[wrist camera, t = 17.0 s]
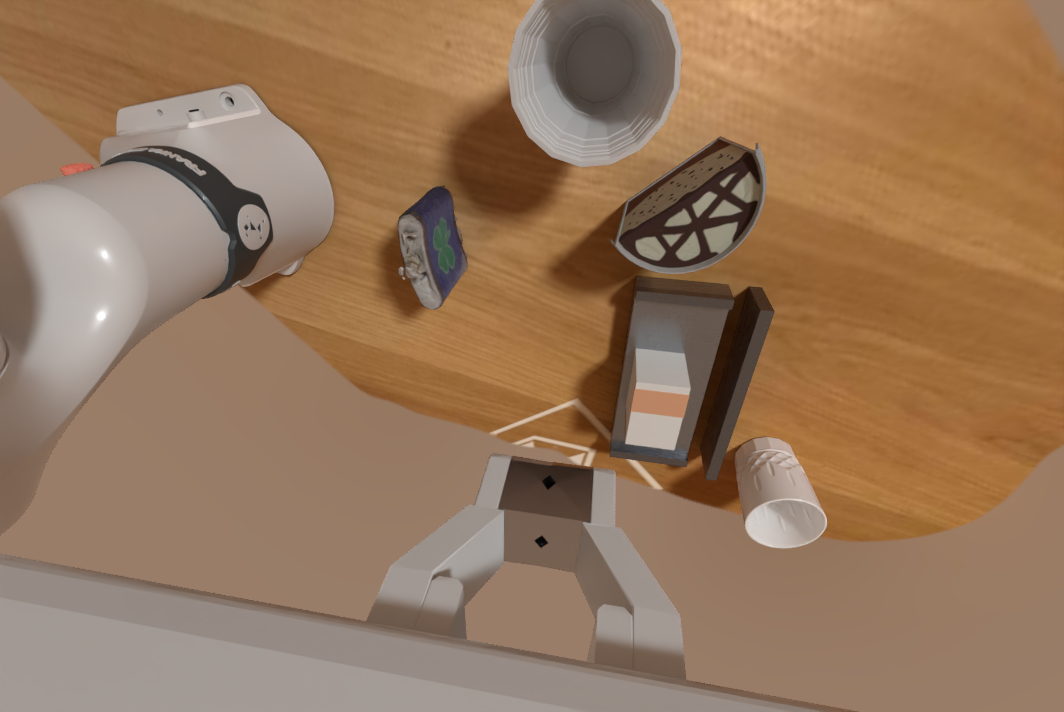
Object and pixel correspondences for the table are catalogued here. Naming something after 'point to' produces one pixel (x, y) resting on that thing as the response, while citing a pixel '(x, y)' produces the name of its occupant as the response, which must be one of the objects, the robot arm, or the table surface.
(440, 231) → the flask
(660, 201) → the food container
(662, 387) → the block
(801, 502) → the white cup
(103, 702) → the robot arm
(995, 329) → the table surface
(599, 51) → the plastic cup
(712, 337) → the dark grey tray
